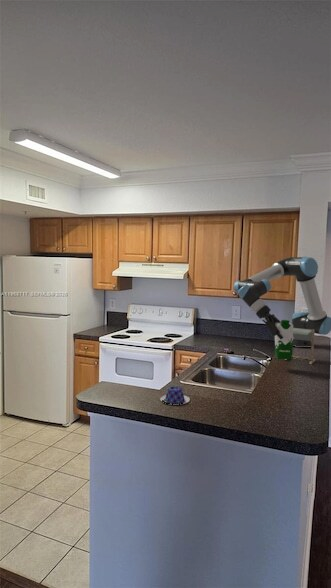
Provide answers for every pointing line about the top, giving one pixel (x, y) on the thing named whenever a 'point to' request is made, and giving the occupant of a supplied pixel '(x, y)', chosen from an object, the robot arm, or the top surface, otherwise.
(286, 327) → the soya milk
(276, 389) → the top surface
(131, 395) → the top surface
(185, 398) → the pudding
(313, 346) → the trapdoor stand
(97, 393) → the top surface
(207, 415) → the top surface
